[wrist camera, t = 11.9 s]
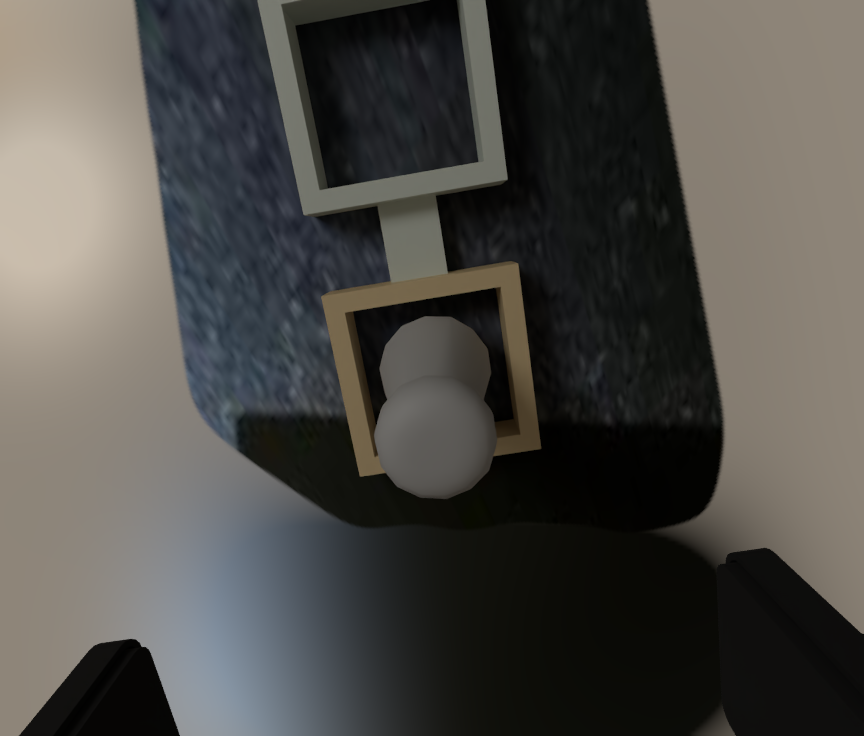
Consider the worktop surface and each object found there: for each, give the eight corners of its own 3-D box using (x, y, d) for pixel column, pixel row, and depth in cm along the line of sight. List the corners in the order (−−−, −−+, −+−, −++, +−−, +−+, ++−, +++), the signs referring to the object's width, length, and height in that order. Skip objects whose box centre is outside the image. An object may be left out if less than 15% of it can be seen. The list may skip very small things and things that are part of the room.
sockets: (270, 6, 26) (253, -18, 23) (473, -32, 25) (477, -61, 23) (365, 458, 32) (360, 476, 29) (532, 432, 31) (541, 448, 29)
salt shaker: (430, 287, 29) (428, 327, 17) (507, 354, 30) (561, 440, 17) (363, 366, 30) (313, 459, 18) (439, 428, 31) (444, 559, 19)
